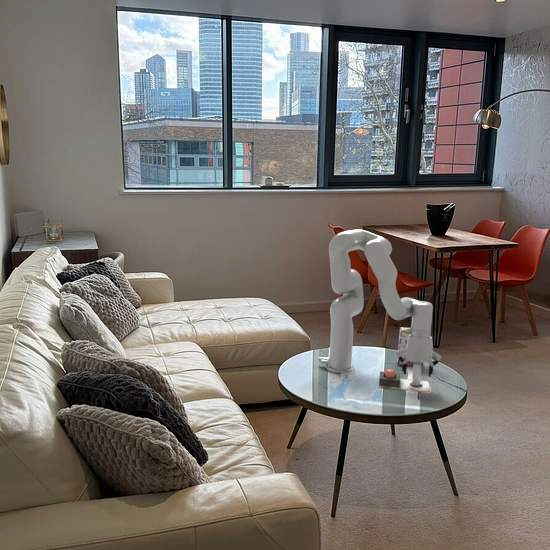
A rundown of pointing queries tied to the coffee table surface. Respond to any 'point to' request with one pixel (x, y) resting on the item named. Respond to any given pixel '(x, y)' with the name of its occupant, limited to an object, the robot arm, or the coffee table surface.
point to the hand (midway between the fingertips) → (417, 374)
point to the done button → (390, 373)
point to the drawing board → (402, 384)
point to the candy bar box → (403, 345)
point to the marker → (416, 373)
